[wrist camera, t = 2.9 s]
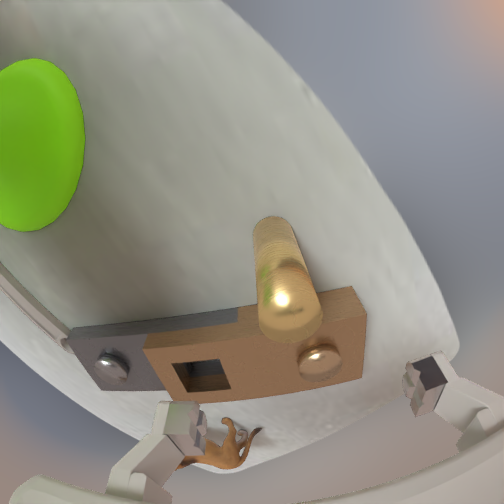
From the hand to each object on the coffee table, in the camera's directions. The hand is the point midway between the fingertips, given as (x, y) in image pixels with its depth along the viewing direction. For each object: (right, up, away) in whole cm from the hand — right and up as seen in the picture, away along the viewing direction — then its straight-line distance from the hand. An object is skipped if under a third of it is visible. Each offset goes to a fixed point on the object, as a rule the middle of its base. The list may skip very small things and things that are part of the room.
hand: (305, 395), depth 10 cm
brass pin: (0, +7, +12) cm, 14 cm away
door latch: (-6, -4, +17) cm, 19 cm away
